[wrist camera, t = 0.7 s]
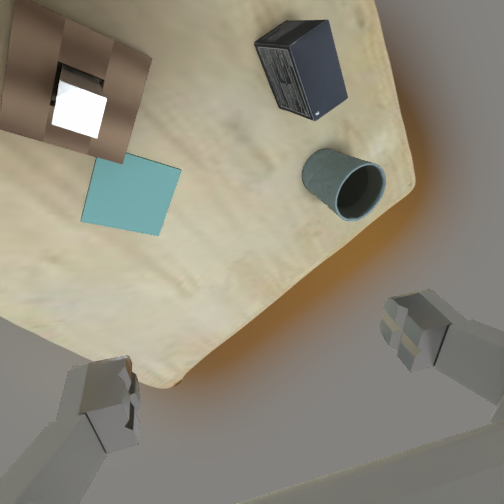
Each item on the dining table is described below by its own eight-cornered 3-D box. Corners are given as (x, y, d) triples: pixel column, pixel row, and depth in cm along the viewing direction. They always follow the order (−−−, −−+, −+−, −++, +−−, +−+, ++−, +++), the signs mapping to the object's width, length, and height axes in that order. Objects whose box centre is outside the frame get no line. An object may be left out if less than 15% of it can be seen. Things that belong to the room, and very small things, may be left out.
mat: (99, 144, 47) (99, 145, 47) (180, 169, 54) (181, 170, 54) (81, 220, 52) (81, 221, 51) (157, 234, 58) (158, 236, 58)
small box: (311, 87, 56) (351, 98, 48) (278, 109, 55) (313, 124, 48) (289, 17, 49) (331, 17, 41) (252, 42, 49) (287, 47, 41)
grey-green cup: (298, 199, 67) (333, 228, 58) (298, 149, 61) (337, 172, 52) (341, 187, 70) (381, 212, 61) (345, 137, 64) (391, 157, 55)
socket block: (19, -5, 37) (15, -7, 34) (148, 56, 44) (152, 58, 42) (1, 122, 42) (-2, 128, 39) (120, 157, 49) (122, 164, 47)
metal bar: (62, 64, 41) (59, 80, 31) (97, 79, 43) (106, 98, 33) (56, 98, 43) (51, 124, 32) (90, 110, 45) (97, 138, 34)
